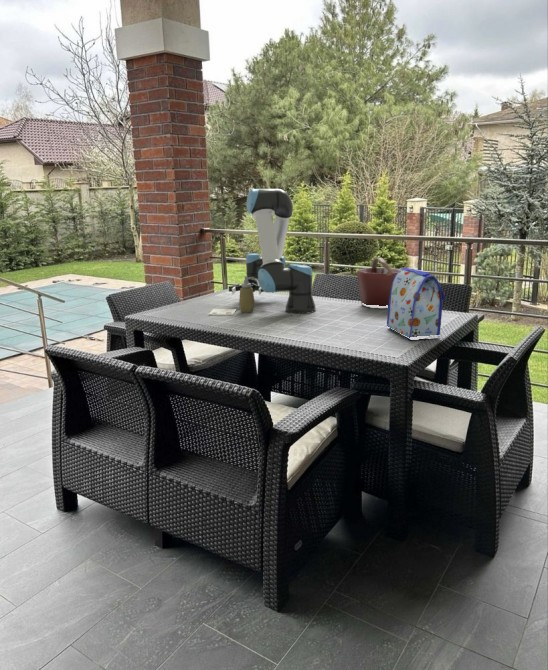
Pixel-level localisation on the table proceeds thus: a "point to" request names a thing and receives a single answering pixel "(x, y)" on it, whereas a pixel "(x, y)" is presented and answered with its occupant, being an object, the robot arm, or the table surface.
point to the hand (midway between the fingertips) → (246, 291)
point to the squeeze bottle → (246, 297)
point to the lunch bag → (415, 304)
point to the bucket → (376, 283)
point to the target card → (222, 312)
